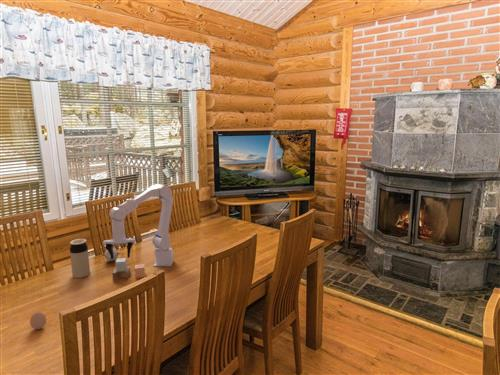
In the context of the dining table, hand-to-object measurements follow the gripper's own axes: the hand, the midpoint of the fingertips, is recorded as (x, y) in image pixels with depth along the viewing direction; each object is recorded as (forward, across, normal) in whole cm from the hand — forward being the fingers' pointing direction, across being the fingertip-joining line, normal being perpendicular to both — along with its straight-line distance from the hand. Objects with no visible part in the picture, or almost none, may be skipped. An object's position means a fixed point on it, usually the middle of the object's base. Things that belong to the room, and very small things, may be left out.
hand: (120, 257), depth 167 cm
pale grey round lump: (+10, +8, -21) cm, 24 cm away
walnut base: (+10, 0, 0) cm, 10 cm away
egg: (+10, +24, +40) cm, 47 cm away
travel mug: (+10, +20, -6) cm, 23 cm away
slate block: (+6, 0, 0) cm, 6 cm away
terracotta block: (+10, -9, +1) cm, 13 cm away
